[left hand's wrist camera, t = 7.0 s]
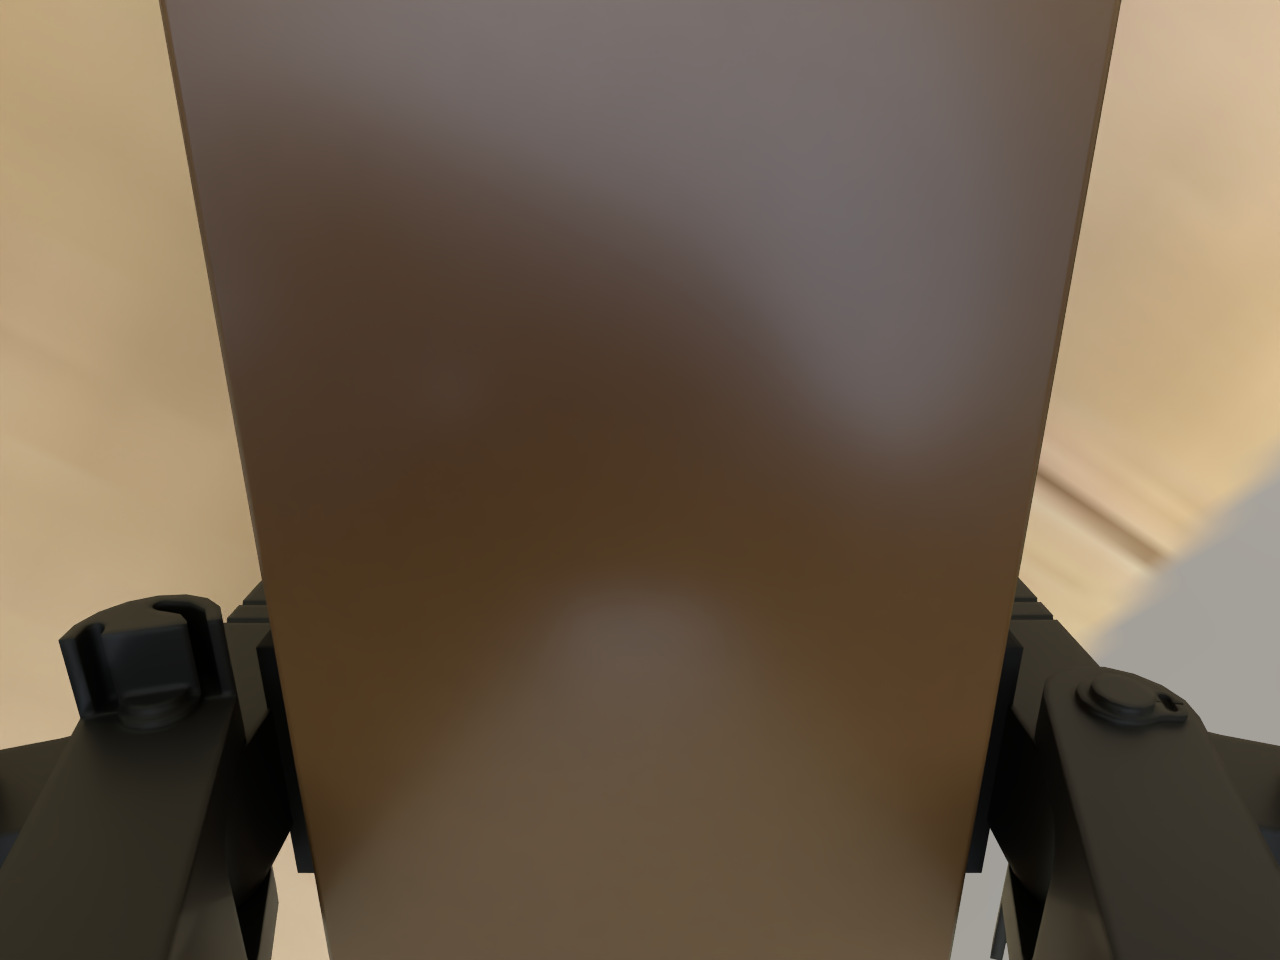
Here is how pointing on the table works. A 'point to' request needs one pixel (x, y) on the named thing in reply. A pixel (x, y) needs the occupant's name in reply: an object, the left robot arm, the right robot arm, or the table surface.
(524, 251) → the beam
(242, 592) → the table surface
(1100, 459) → the table surface
